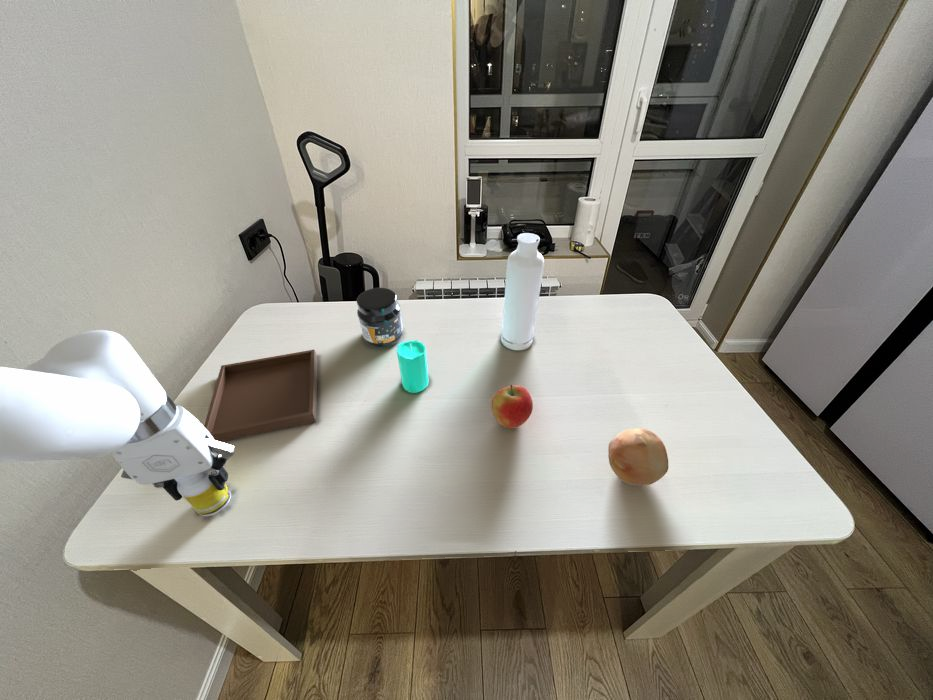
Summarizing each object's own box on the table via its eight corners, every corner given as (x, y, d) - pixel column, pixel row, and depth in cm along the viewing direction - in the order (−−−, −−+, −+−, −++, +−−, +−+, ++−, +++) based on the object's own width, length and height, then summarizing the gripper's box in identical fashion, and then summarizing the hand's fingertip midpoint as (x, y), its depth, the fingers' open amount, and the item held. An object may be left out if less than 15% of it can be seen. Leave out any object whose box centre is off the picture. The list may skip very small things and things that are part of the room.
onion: (653, 506, 65) (675, 475, 58) (595, 480, 68) (609, 448, 62) (661, 462, 71) (682, 430, 64) (608, 441, 74) (622, 408, 68)
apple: (506, 443, 74) (510, 410, 67) (483, 416, 79) (484, 383, 72) (537, 425, 77) (544, 392, 71) (513, 400, 82) (517, 367, 76)
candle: (397, 389, 85) (390, 349, 77) (409, 371, 89) (403, 331, 81) (422, 395, 83) (417, 355, 75) (432, 377, 88) (429, 337, 80)
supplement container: (360, 349, 95) (350, 310, 87) (366, 324, 103) (358, 286, 95) (402, 348, 95) (396, 310, 87) (405, 323, 103) (400, 285, 95)
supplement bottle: (238, 496, 65) (214, 465, 59) (208, 523, 62) (179, 492, 56) (220, 481, 68) (195, 449, 61) (190, 506, 64) (160, 474, 58)
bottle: (500, 329, 101) (508, 229, 82) (531, 330, 101) (545, 230, 82) (501, 349, 95) (510, 246, 76) (533, 350, 95) (550, 247, 76)
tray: (206, 445, 74) (200, 437, 72) (226, 373, 89) (221, 365, 87) (316, 421, 78) (312, 413, 76) (317, 357, 93) (314, 349, 91)
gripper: (48, 454, 45) (134, 523, 57) (205, 423, 49) (255, 494, 61) (78, 408, 51) (150, 480, 63) (217, 383, 55) (261, 455, 66)
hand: (202, 486), depth 62 cm, fingers closed on supplement bottle, 5 cm apart
